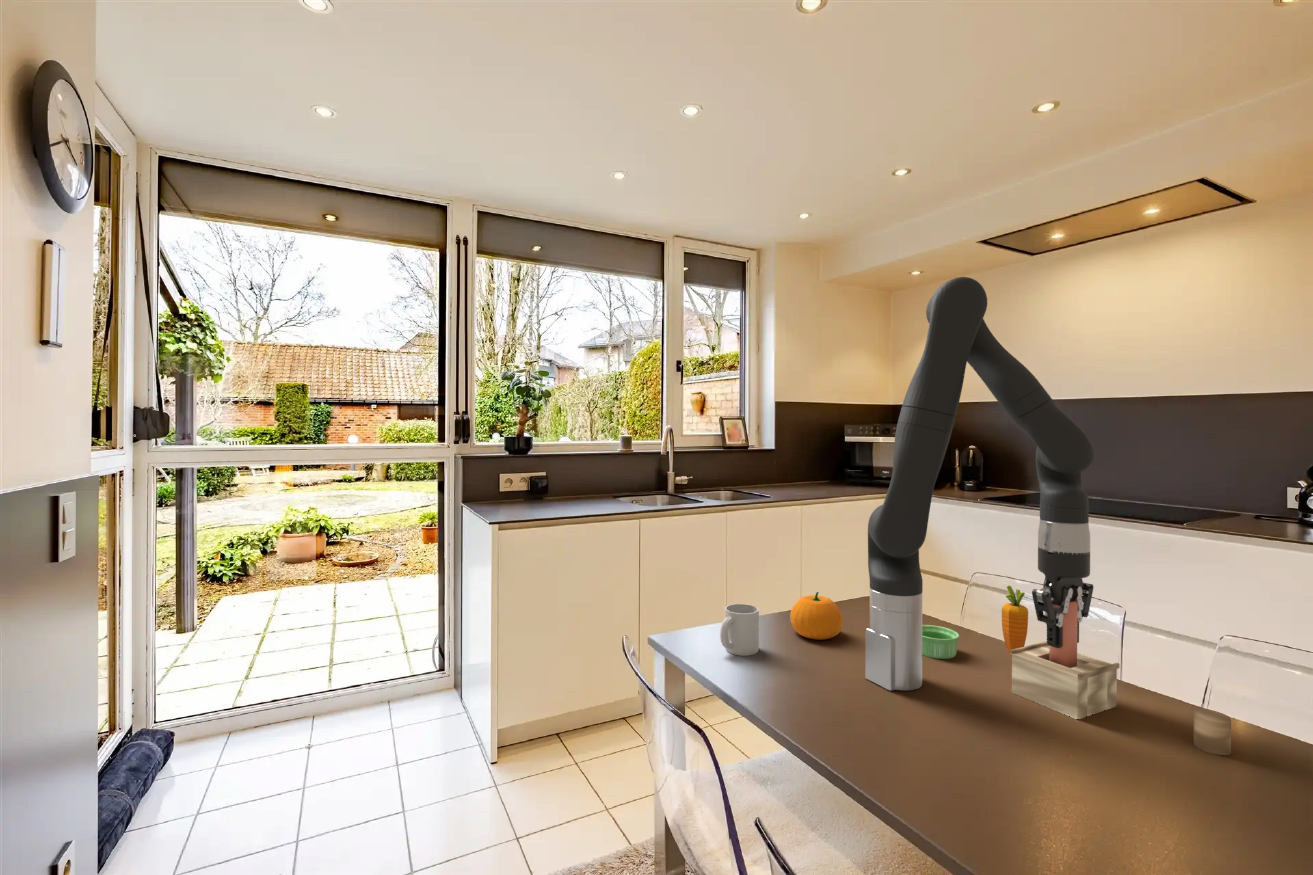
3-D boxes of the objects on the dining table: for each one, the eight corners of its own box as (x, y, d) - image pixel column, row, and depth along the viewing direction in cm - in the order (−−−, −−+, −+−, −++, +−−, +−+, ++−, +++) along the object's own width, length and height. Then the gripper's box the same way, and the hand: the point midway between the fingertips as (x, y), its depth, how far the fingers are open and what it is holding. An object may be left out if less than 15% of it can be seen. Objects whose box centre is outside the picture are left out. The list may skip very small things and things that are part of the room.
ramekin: (909, 642, 130) (909, 623, 130) (953, 646, 128) (953, 626, 127) (915, 658, 121) (915, 636, 121) (963, 662, 119) (963, 641, 119)
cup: (765, 650, 125) (765, 609, 125) (734, 662, 119) (734, 619, 119) (740, 641, 131) (740, 601, 131) (709, 652, 124) (709, 610, 124)
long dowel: (1068, 674, 100) (1068, 604, 99) (1044, 666, 103) (1044, 598, 103) (1082, 670, 101) (1082, 601, 101) (1058, 662, 105) (1058, 596, 105)
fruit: (832, 625, 141) (832, 584, 141) (850, 643, 129) (850, 598, 129) (784, 626, 141) (784, 585, 140) (798, 644, 129) (798, 599, 129)
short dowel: (1222, 758, 84) (1223, 723, 84) (1188, 744, 88) (1188, 711, 87) (1236, 751, 86) (1236, 718, 85) (1201, 738, 89) (1202, 706, 89)
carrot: (1033, 665, 117) (1033, 590, 117) (1006, 663, 118) (1006, 589, 118) (1023, 656, 122) (1023, 584, 122) (996, 654, 123) (997, 583, 123)
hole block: (1080, 720, 95) (1080, 674, 95) (1009, 691, 105) (1009, 650, 105) (1119, 707, 99) (1119, 663, 99) (1047, 680, 110) (1048, 640, 110)
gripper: (1065, 539, 108) (1065, 631, 109) (1016, 546, 102) (1015, 643, 103) (1111, 547, 102) (1110, 645, 102) (1060, 554, 96) (1060, 658, 96)
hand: (1062, 643), depth 102 cm, fingers open, 4 cm apart
